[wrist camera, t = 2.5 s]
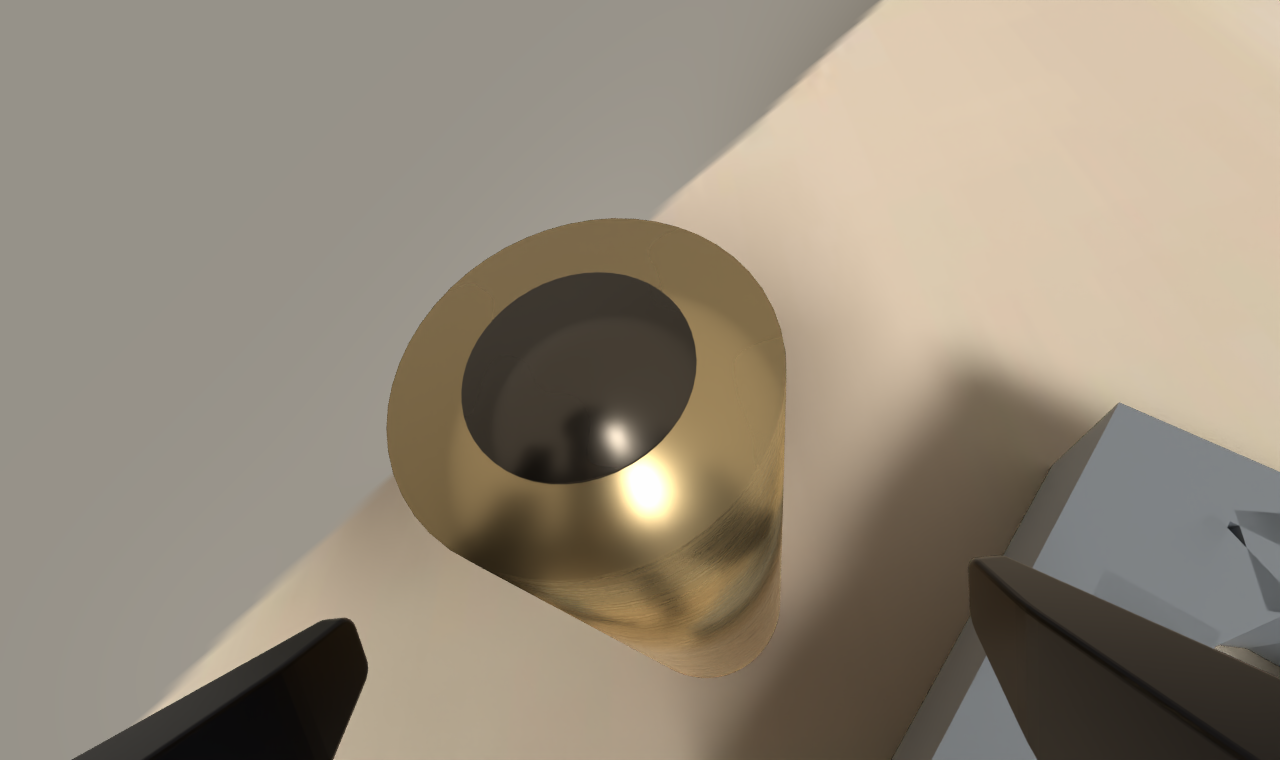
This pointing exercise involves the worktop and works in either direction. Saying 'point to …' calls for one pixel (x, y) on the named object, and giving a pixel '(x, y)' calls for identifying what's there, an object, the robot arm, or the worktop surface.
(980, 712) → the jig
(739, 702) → the worktop surface
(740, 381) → the bushing
